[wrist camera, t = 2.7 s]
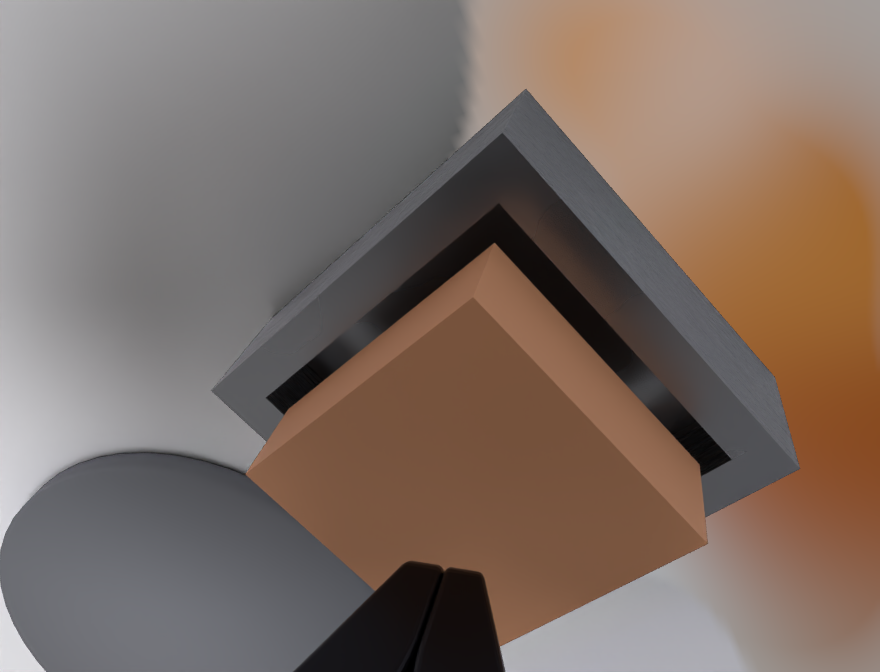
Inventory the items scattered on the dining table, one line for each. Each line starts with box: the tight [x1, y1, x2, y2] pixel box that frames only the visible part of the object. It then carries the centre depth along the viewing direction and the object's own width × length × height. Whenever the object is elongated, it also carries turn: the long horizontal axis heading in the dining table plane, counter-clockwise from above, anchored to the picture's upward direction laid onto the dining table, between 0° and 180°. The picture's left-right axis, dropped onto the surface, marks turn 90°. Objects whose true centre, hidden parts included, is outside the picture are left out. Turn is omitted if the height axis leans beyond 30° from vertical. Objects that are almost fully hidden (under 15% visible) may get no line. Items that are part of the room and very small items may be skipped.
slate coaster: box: [0, 453, 375, 672], centre depth 18 cm, size 9×9×1 cm
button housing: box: [211, 89, 800, 517], centre depth 12 cm, size 6×6×2 cm
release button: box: [246, 243, 708, 646], centre depth 11 cm, size 4×4×2 cm
